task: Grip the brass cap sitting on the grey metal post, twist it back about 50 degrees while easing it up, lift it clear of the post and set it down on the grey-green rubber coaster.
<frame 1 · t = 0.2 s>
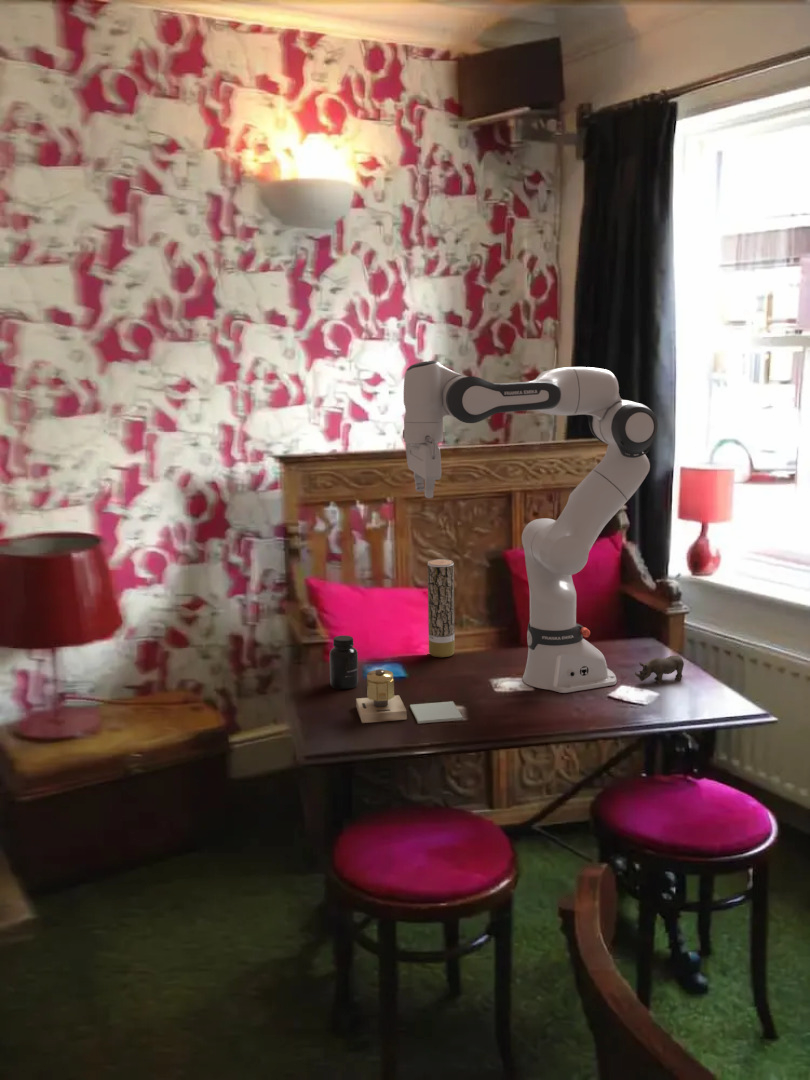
hand: (424, 494, 232), 47 cm above the table, fingers open, 8 cm apart
rhino figurine: (658, 681, 246), on the table
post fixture: (381, 712, 229), on the table
supplement bottle: (344, 686, 247), on the table
coaster: (435, 713, 228), on the table
paper tube: (441, 654, 269), on the table
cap: (380, 696, 228), point 4 cm above the table, touching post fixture
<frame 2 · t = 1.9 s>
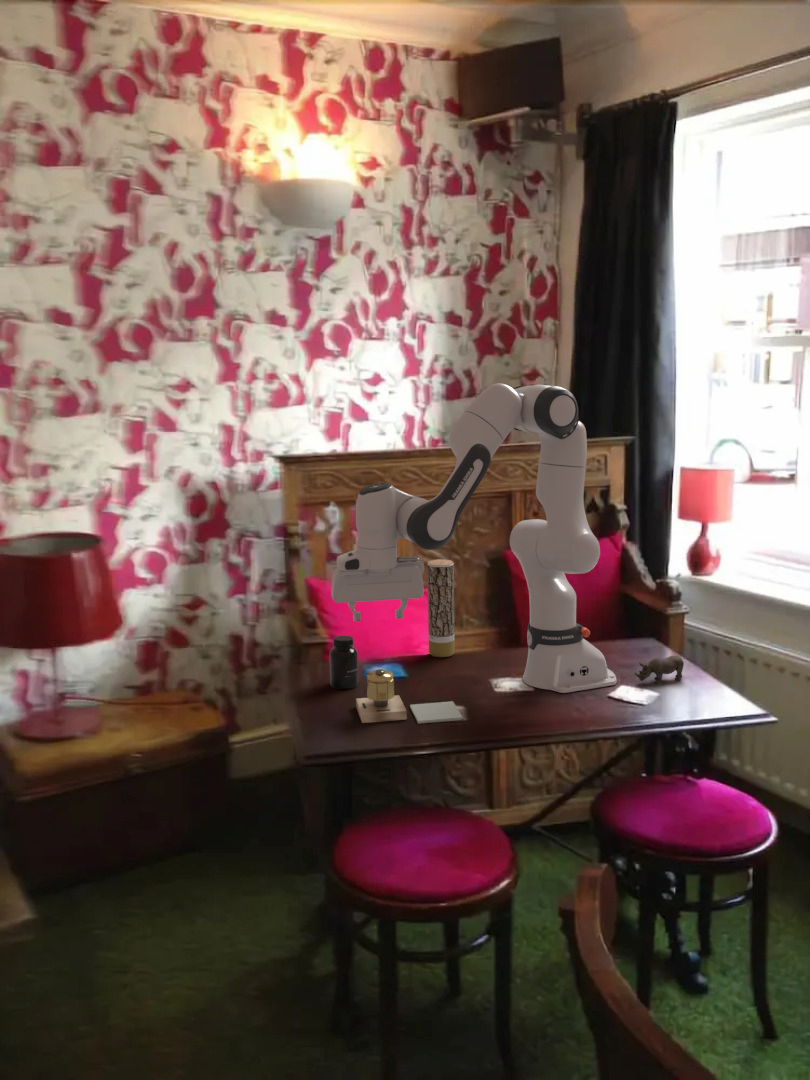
hand: (378, 619, 224), 22 cm above the table, fingers open, 8 cm apart
nothing on the table moved.
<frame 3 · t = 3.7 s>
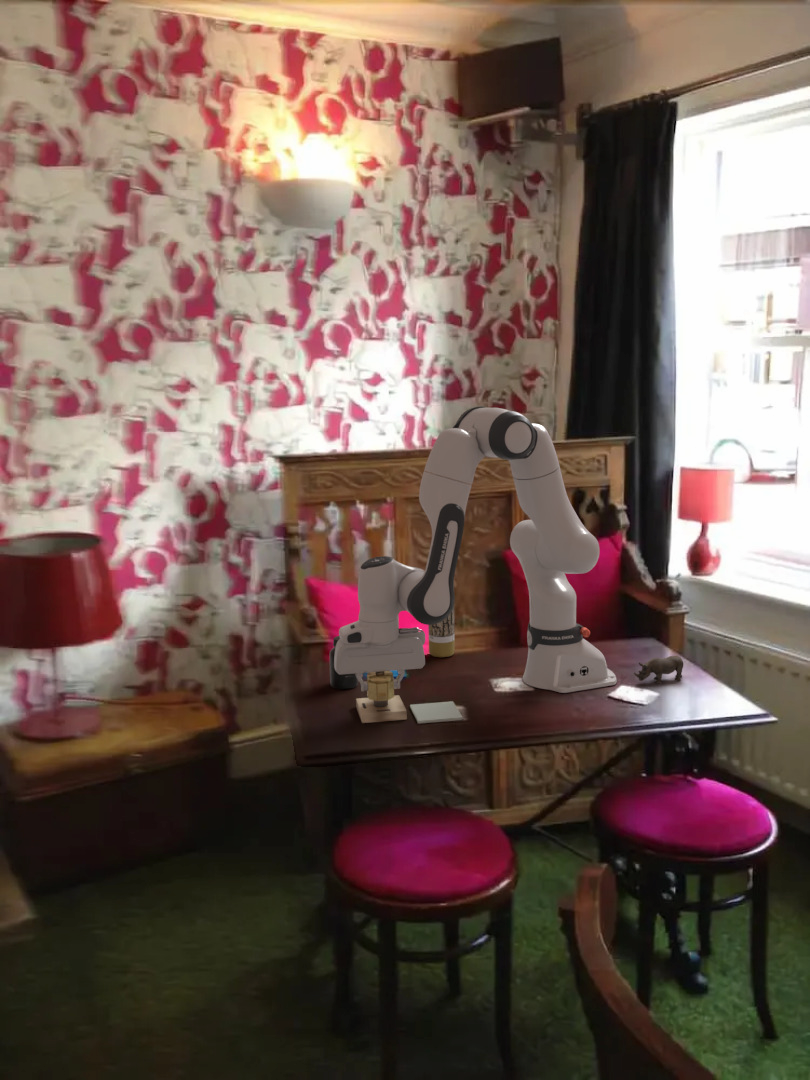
hand: (380, 689, 228), 6 cm above the table, fingers closed on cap, 6 cm apart
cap: (380, 696, 228), point 4 cm above the table, touching gripper, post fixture
everything else where it was.
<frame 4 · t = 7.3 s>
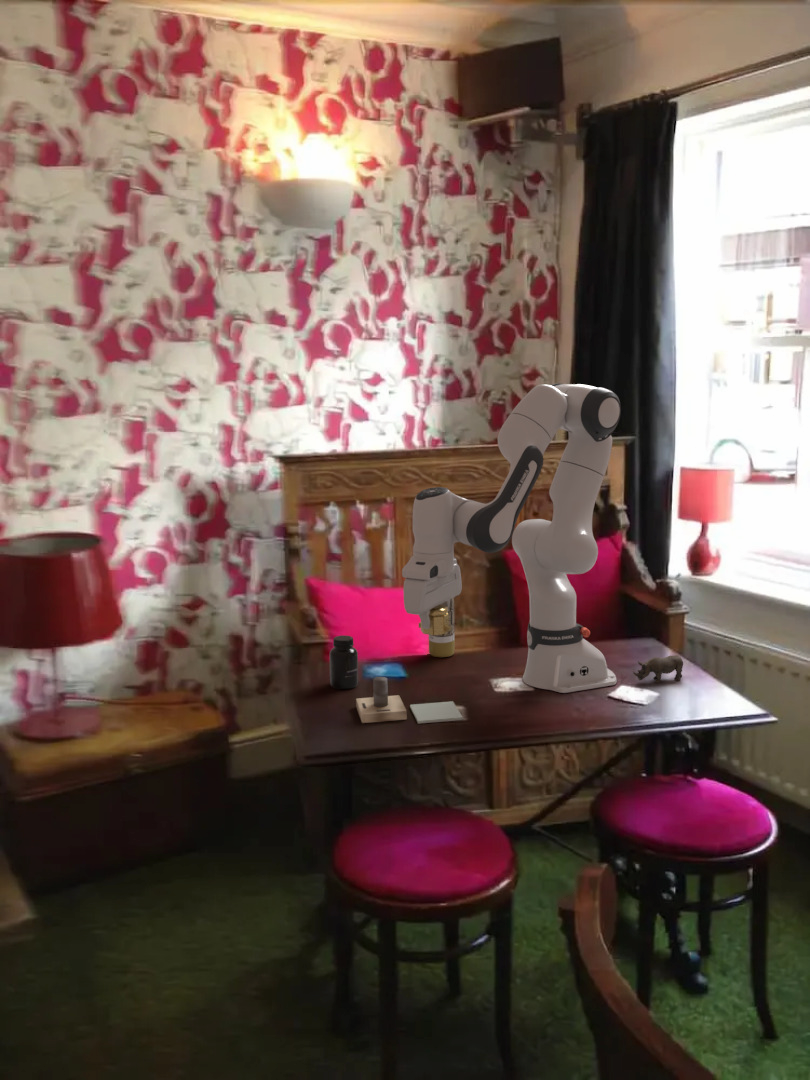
hand: (434, 623, 224), 21 cm above the table, fingers closed on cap, 6 cm apart
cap: (434, 631, 224), point 19 cm above the table, touching gripper
everything else where it was.
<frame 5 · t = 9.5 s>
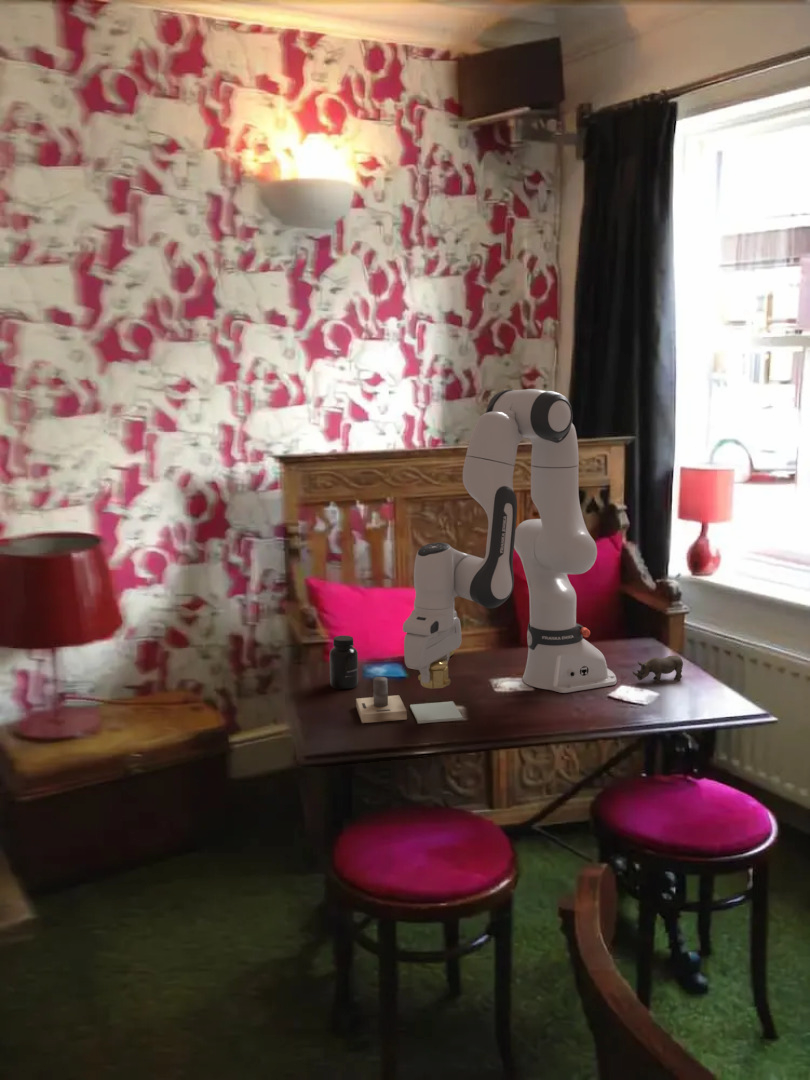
hand: (434, 677, 226), 9 cm above the table, fingers closed on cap, 6 cm apart
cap: (434, 684, 226), point 7 cm above the table, touching gripper
everything else where it was.
when the fingers open (4 cm above the table, at t = 11.1 s): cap drops 1 cm, resting on coaster.
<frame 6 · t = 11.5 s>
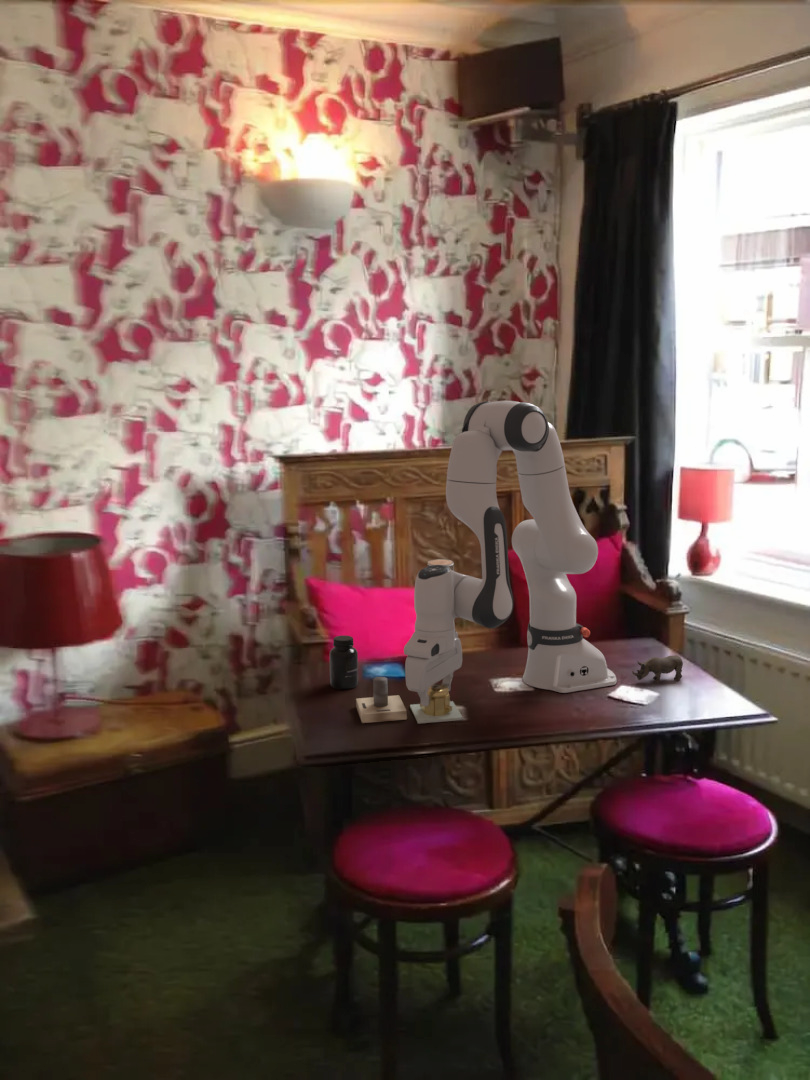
hand: (435, 698, 227), 4 cm above the table, fingers open, 8 cm apart
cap: (435, 710, 228), point 1 cm above the table, touching coaster
everything else where it was.
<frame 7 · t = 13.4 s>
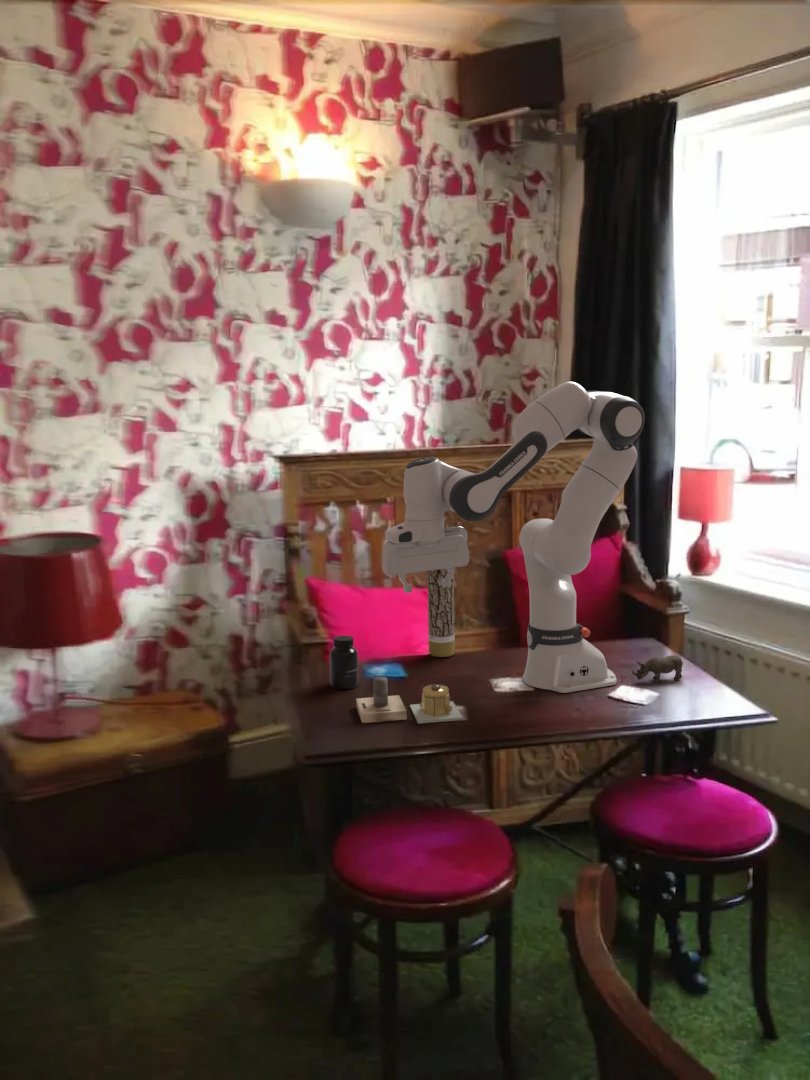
hand: (427, 589, 232), 26 cm above the table, fingers open, 8 cm apart
nothing on the table moved.
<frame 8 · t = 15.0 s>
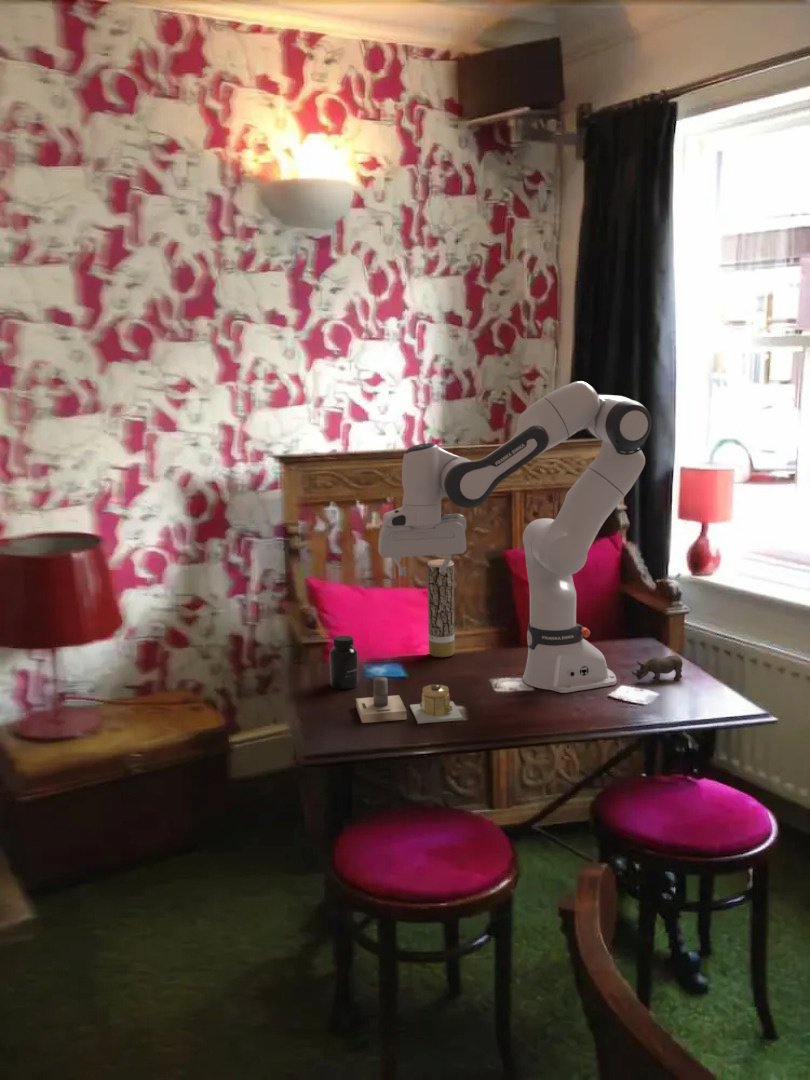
hand: (422, 574, 234), 29 cm above the table, fingers open, 8 cm apart
nothing on the table moved.
at the end: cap inside the target area on the coaster (0.0 cm from its centre), point 0.6 cm above the coaster's base; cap touching coaster; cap tilted 0° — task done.
